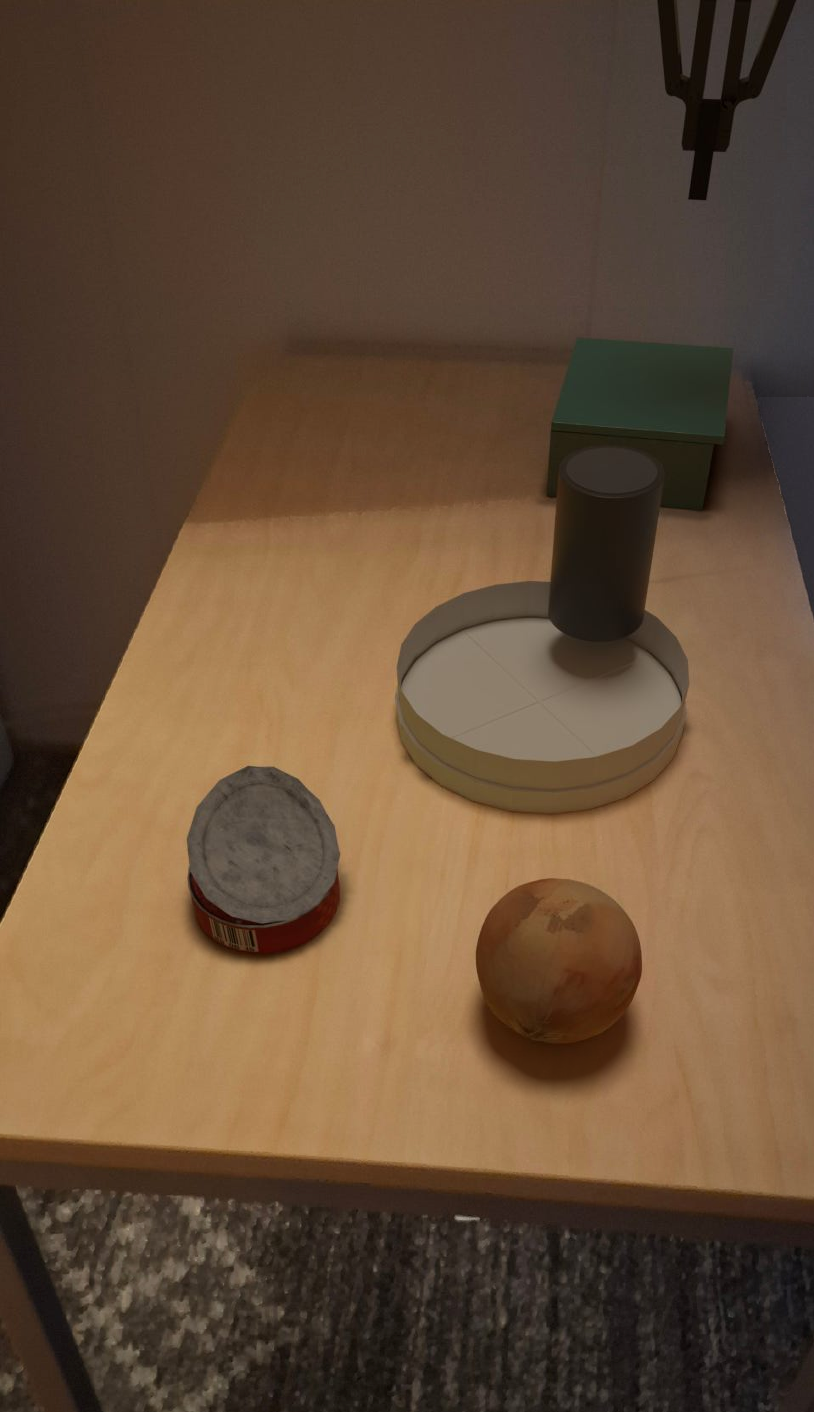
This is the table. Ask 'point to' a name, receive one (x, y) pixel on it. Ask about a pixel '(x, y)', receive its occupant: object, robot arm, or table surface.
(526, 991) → the onion
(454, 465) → the table surface
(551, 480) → the green box
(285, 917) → the canned food
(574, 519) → the gray cylinder
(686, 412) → the lid
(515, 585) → the dish
